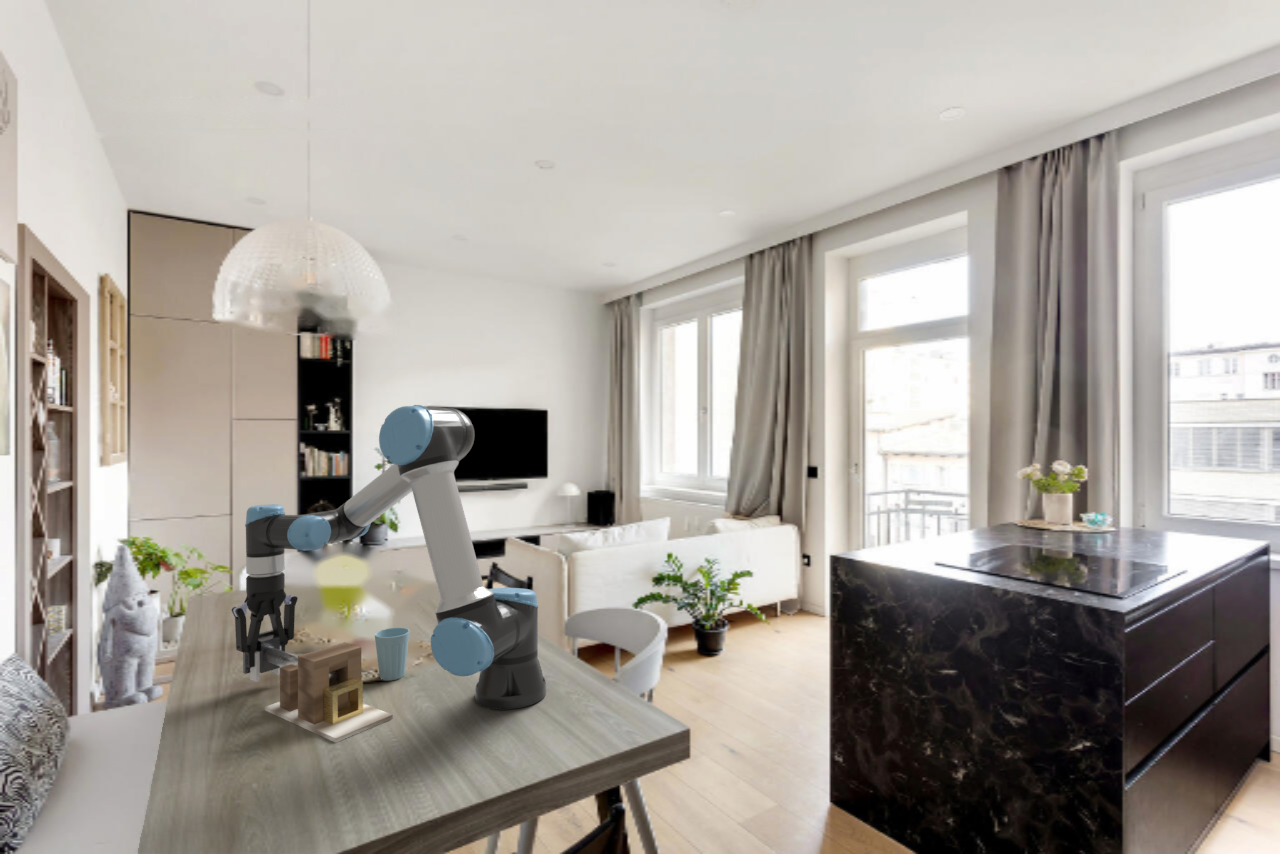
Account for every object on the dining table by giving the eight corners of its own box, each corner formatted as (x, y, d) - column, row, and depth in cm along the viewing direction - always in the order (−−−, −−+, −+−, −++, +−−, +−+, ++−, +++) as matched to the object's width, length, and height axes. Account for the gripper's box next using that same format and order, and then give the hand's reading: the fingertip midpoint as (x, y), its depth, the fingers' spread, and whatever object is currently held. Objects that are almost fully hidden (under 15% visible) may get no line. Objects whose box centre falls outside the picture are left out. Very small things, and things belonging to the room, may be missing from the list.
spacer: (363, 712, 130) (362, 681, 130) (332, 725, 124) (332, 692, 124) (354, 709, 131) (354, 678, 131) (324, 721, 126) (324, 688, 126)
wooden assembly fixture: (392, 718, 129) (392, 653, 129) (335, 742, 119) (335, 672, 119) (321, 690, 143) (320, 632, 143) (265, 710, 133) (264, 647, 133)
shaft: (346, 690, 133) (346, 651, 133) (313, 702, 127) (313, 661, 128) (275, 663, 149) (275, 629, 150) (243, 673, 144) (243, 637, 144)
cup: (411, 679, 149) (410, 634, 150) (375, 684, 146) (375, 639, 147) (408, 668, 156) (408, 625, 157) (374, 673, 153) (374, 630, 153)
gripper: (294, 565, 154) (295, 662, 154) (216, 578, 140) (216, 686, 140) (311, 568, 150) (312, 668, 150) (232, 582, 136) (233, 693, 136)
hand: (266, 676), depth 145 cm, fingers closed on shaft, 4 cm apart
